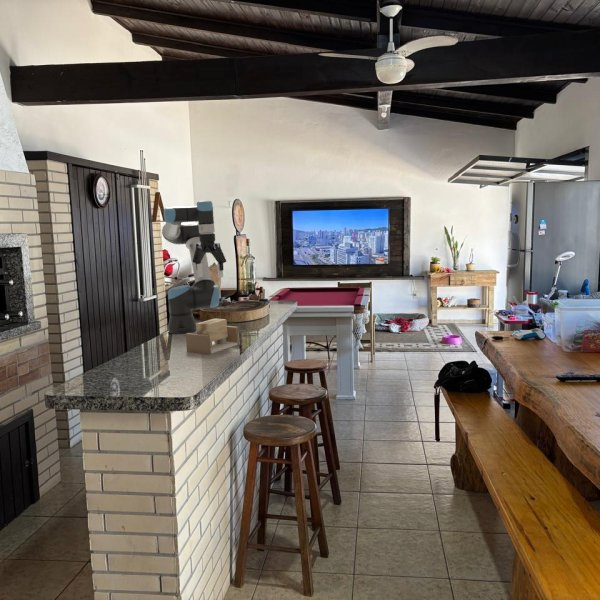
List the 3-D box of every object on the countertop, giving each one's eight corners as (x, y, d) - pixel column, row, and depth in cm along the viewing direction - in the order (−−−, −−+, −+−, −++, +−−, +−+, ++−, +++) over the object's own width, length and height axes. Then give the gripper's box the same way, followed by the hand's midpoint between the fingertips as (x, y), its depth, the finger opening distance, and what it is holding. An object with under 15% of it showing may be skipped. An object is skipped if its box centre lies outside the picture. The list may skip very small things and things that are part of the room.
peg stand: (186, 351, 249) (185, 333, 248) (218, 341, 265) (217, 324, 264) (208, 354, 241) (207, 336, 240) (239, 344, 257) (238, 326, 256)
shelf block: (197, 341, 250) (196, 323, 248) (216, 335, 259) (214, 318, 258) (209, 342, 246) (207, 324, 244) (227, 336, 255) (226, 319, 254)
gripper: (183, 234, 277) (186, 277, 281) (220, 233, 263) (224, 278, 266) (194, 233, 283) (197, 275, 287) (231, 232, 269) (234, 276, 272)
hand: (210, 277), depth 277 cm, fingers open, 13 cm apart
